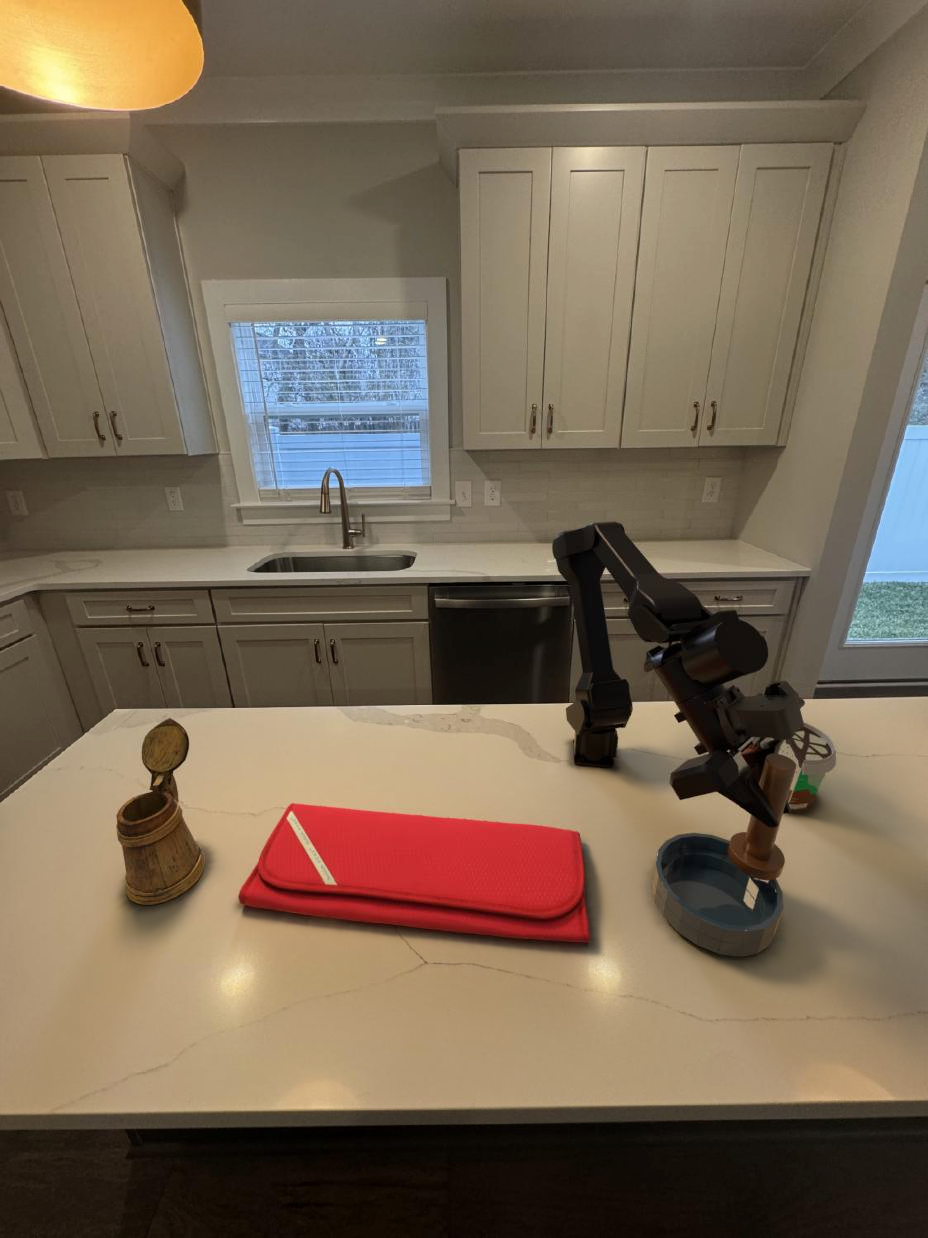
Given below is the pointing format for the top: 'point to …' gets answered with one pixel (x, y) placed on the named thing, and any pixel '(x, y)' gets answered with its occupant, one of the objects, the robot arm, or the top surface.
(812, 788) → the food container
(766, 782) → the stirring pestle
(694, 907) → the bowl
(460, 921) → the red folding pouch
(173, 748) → the wooden mug
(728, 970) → the top surface
